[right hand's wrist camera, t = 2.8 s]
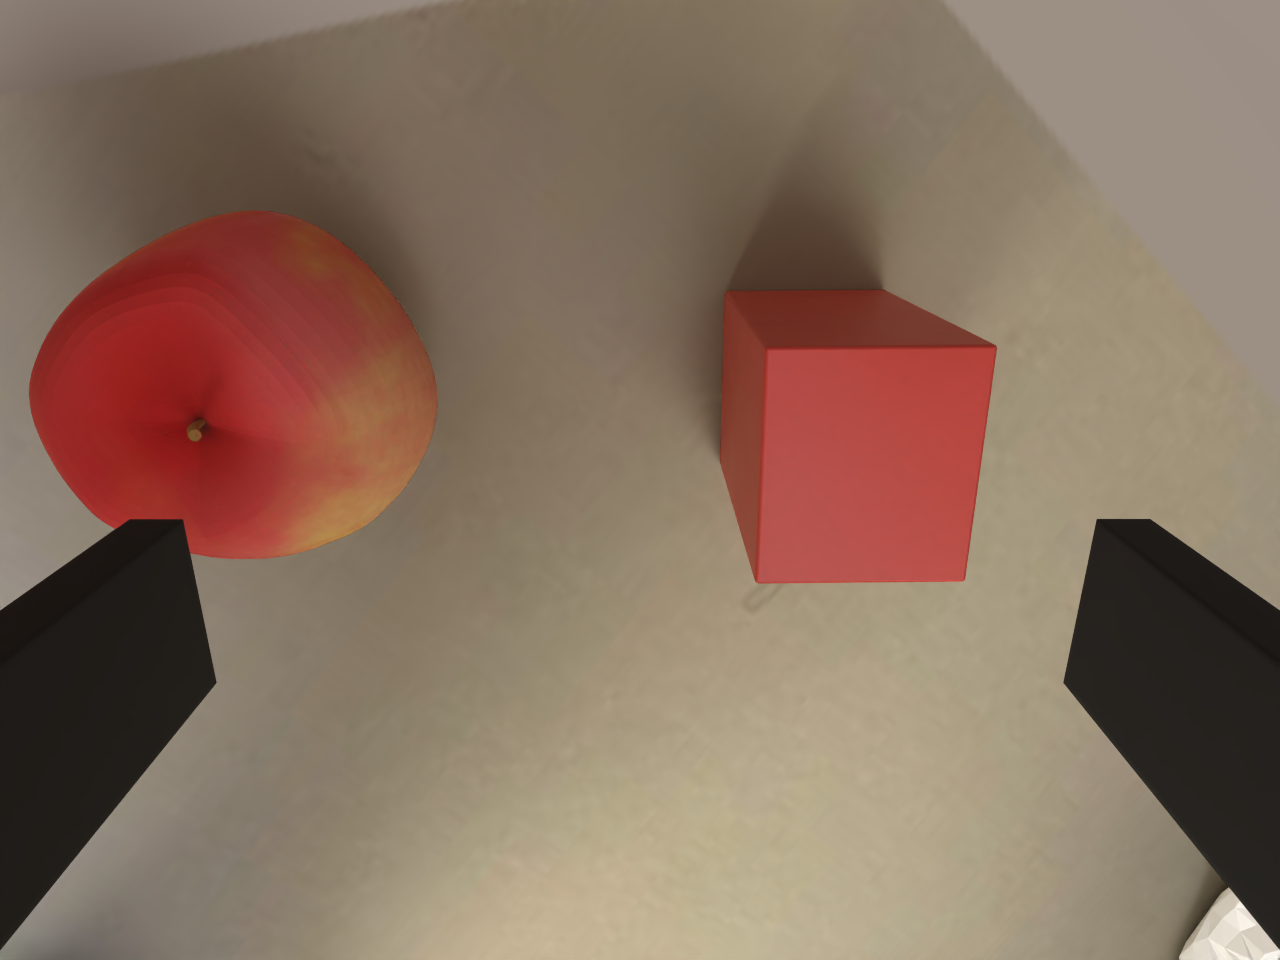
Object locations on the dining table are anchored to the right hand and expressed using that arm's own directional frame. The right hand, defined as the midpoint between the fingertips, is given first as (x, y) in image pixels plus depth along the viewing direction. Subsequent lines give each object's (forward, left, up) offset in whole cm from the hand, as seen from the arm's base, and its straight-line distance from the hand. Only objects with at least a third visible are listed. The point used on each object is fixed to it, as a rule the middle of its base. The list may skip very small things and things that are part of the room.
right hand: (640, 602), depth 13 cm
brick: (-3, -5, -18) cm, 19 cm away
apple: (+3, +10, -18) cm, 21 cm away
